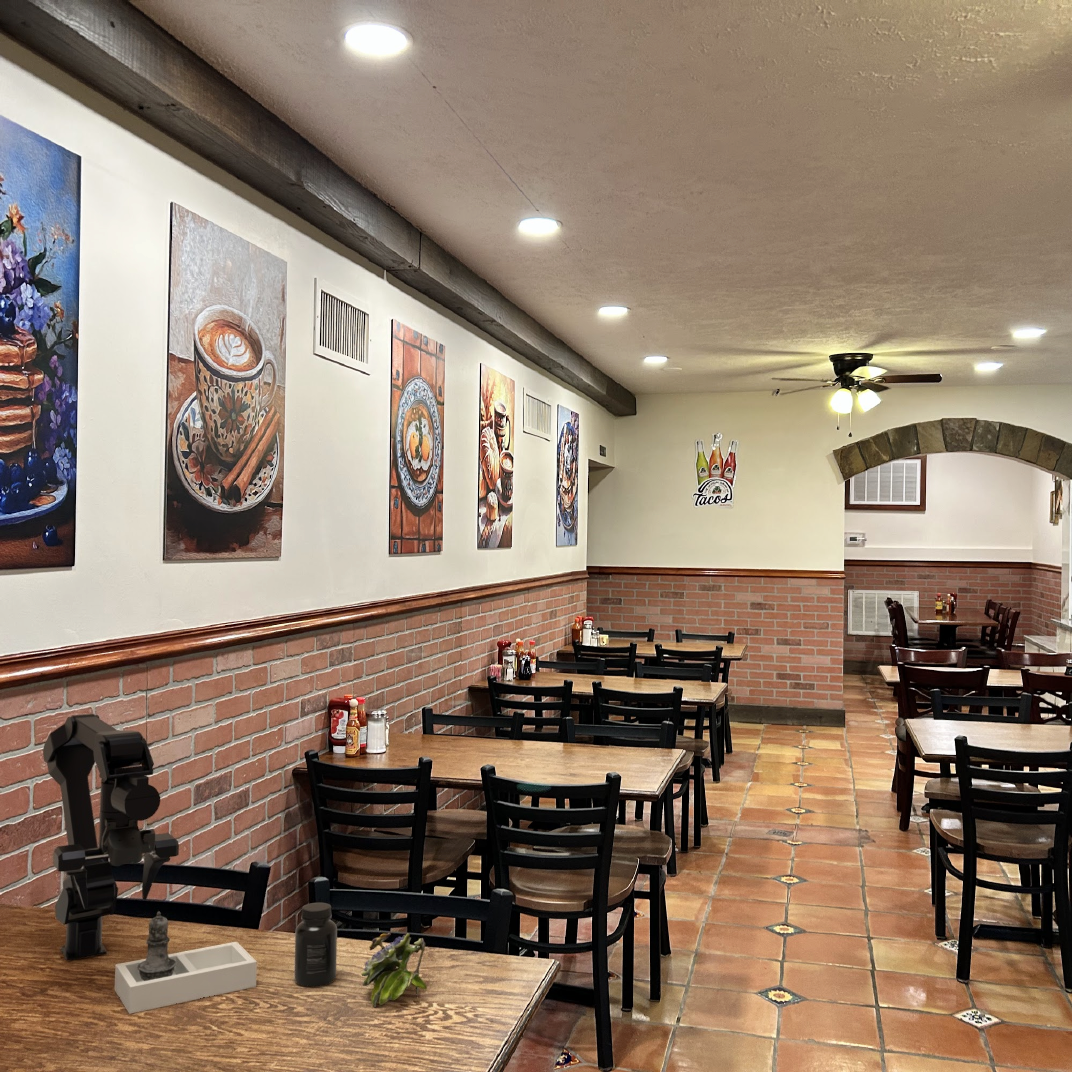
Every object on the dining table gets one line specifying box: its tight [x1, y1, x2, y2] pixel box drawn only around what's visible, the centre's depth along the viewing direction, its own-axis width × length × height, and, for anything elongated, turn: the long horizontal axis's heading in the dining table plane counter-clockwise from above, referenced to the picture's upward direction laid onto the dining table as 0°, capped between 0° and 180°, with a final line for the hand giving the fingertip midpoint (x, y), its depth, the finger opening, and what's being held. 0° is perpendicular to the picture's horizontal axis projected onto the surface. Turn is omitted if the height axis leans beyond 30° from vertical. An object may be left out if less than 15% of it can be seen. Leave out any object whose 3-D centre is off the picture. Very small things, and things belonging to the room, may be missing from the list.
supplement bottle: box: [293, 902, 338, 988], centre depth 169 cm, size 7×7×12 cm
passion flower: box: [361, 932, 427, 1008], centre depth 164 cm, size 11×11×12 cm
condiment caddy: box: [114, 941, 258, 1015], centre depth 165 cm, size 10×20×4 cm, turn 124°
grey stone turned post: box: [137, 910, 177, 981], centre depth 162 cm, size 6×6×12 cm
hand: (115, 903), depth 169 cm, fingers open, 9 cm apart
